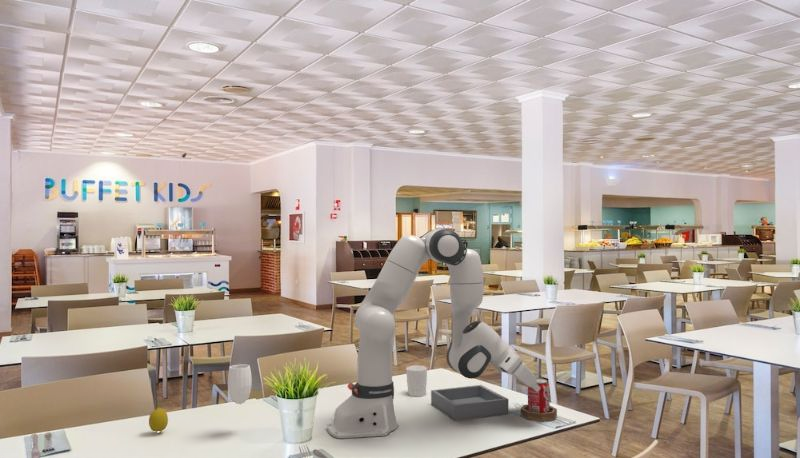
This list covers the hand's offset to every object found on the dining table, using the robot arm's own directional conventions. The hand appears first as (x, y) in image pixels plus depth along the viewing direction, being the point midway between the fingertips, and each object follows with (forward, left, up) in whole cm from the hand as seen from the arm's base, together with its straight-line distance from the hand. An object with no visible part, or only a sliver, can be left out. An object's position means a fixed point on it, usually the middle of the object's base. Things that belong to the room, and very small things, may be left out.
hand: (532, 386), depth 201 cm
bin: (-16, +16, -10) cm, 25 cm away
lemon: (-117, +29, -10) cm, 121 cm away
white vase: (-93, +20, -10) cm, 96 cm away
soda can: (+2, 0, -10) cm, 11 cm away
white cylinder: (-26, +40, -10) cm, 49 cm away
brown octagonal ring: (+2, 0, -10) cm, 10 cm away
